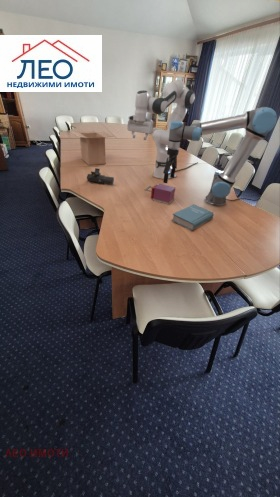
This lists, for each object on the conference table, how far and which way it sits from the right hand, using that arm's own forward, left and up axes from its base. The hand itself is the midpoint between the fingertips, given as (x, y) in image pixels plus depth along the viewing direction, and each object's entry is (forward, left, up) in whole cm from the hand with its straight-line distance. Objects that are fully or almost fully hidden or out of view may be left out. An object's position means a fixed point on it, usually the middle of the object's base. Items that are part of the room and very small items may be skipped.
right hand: (168, 180), depth 157 cm
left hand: (+21, -30, +20) cm, 42 cm away
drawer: (+7, -4, -15) cm, 17 cm away
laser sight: (+53, -30, -16) cm, 63 cm away
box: (+67, -93, -16) cm, 116 cm away
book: (-14, +29, -16) cm, 36 cm away
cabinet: (+2, -1, -16) cm, 16 cm away
